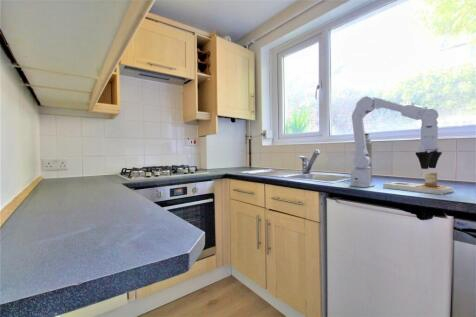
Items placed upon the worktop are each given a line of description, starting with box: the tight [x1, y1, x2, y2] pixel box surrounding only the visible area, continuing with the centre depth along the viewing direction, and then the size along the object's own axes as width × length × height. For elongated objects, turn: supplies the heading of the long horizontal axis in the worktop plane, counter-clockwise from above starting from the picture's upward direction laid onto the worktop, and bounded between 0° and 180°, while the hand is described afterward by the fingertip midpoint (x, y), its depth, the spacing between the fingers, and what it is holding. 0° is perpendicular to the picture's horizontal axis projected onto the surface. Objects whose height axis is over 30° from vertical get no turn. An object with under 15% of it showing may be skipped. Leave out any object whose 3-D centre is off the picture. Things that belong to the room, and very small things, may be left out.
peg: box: [424, 171, 438, 187], centre depth 100 cm, size 4×4×8 cm
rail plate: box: [382, 181, 454, 196], centre depth 104 cm, size 12×22×2 cm, turn 31°
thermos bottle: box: [365, 133, 373, 180], centre depth 139 cm, size 8×8×28 cm
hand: (428, 168), depth 100 cm, fingers open, 7 cm apart
